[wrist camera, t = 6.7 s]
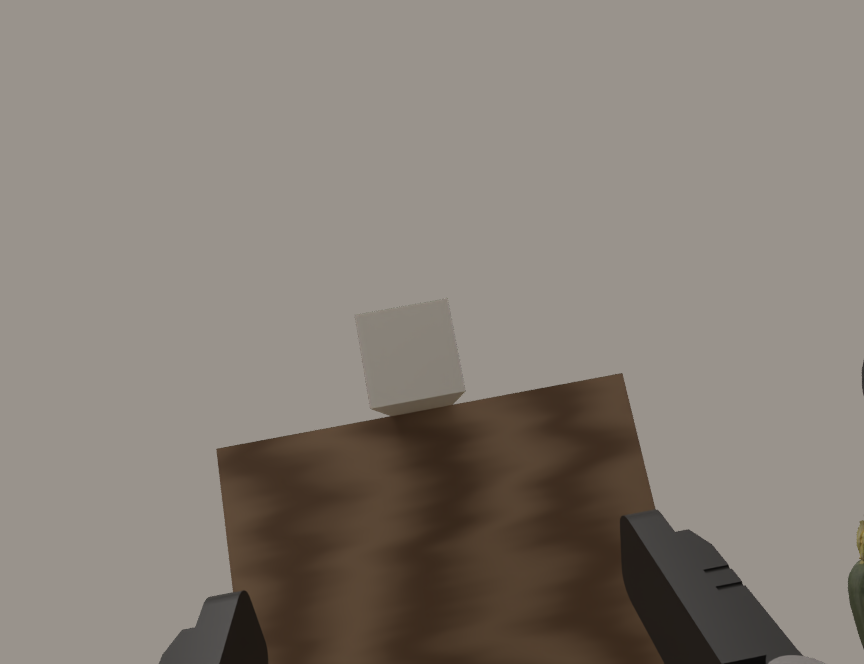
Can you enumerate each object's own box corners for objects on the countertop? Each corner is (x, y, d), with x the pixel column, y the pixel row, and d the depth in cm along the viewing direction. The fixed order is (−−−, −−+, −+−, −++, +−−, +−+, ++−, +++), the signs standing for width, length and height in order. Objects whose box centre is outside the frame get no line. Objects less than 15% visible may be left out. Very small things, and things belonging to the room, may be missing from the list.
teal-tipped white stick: (447, 413, 43) (440, 374, 44) (475, 389, 17) (456, 296, 18) (401, 421, 43) (394, 383, 43) (360, 410, 17) (345, 316, 18)
